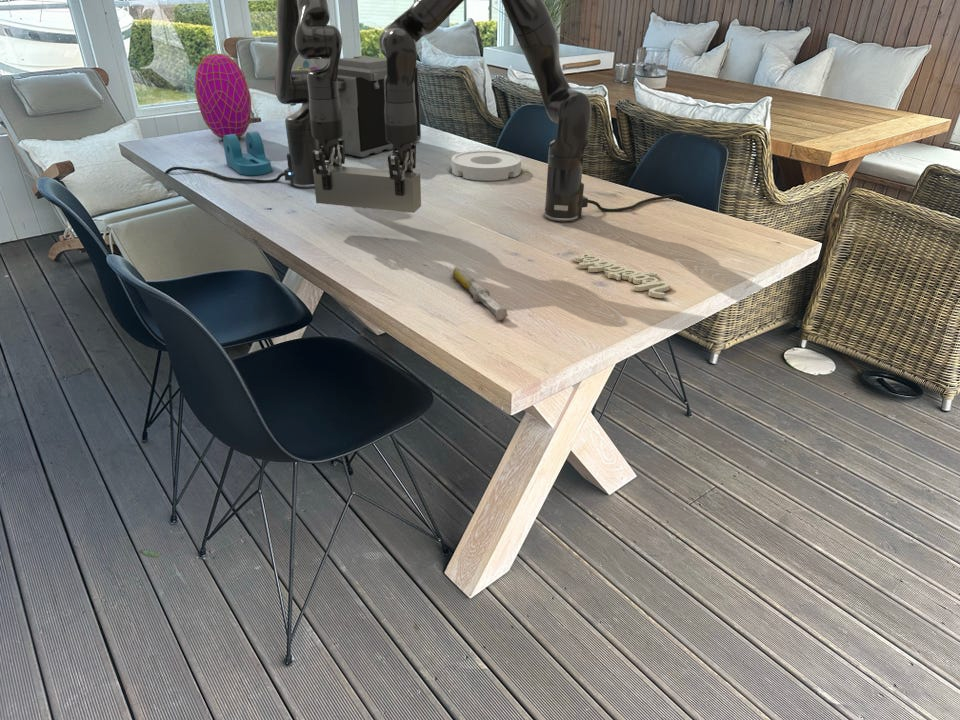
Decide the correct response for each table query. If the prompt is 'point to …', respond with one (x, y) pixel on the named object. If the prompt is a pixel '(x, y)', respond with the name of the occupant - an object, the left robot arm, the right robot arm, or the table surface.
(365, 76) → the cooler box
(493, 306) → the syringe
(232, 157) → the camera mount
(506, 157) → the ashtray
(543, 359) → the table surface
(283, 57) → the left robot arm
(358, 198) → the bar
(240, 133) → the decorative egg
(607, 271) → the decorative sign
